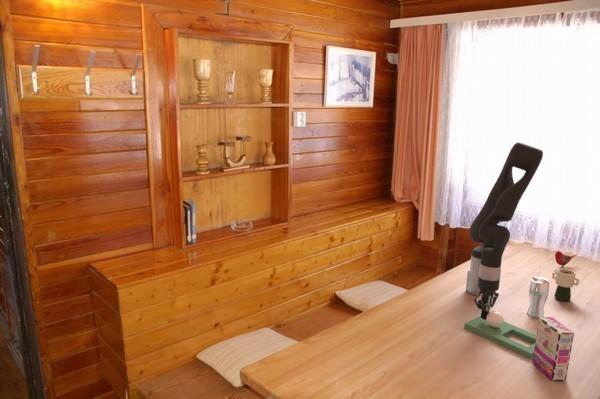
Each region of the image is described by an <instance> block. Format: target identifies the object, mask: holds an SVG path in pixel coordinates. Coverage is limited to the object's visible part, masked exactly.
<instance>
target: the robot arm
mask: <svg viewBox="0 0 600 399" xmlns="http://www.w3.org/2000/svg"><path fill="white" fill-rule="evenodd" d="M543 151H544V150H542V149H540V148H539V147H535V146H531V145H530V144H526V143H523V142H516V143H515V144H513V146H512V147H511V149H510V150H509V153H508V154H507V157H506V159H505V162H504V164H503V166H502V168H501V171H500V173H499V176H498V178H497V180H496V181H495V183H494V184H493V186H492V188H491V190H490V192H489V194H488V195H487V198H486V200H485V202H484V204H483V206H482V207H481V209H480V211H479V213H478V214H477V215H476V217H475V218H474V220H473V222H472V223H471V225H470V228H469V237H470V240H471V241H473V242H475V243H480V244H479V245H478V246H475V247H473V248H472V250H471V254H470V255H471V256H470V266H469V270H468V271H467V276H466V283H465V284H466V287H465V292H466V291H467V292H468V293H469V295H470V294H471V295H472V296H476V297H477V298H474V299H473V300H474V303H475V305H476V307H477V309H478V310H480V311H481V313H480V316H481V318H482V319H484V320H486V317H487V314H488V313H489V312H490V310H491V308H494V305H495V304H496V301H497V300H498V298H499V296H500V293H499V292H497V291H498V290H499V288H500V283H501V276H502V274H501V273H502V270H501V269H502V268H501V267H502V262H503V261H502V257H503V254H504V253H505V249H506V247H507V245H508V242H509V241H510V238H511V233H510V229H509V228H507V227H506V226H503V225H500V223H502V222H505V223H506V222H511V220H512V219H513V217H514V215H515V212H516V210H517V207H518V205H519V203H520V200H521V199H522V196H523V195H524V194H525V192H526V190H527V188H528V186H529V185H530V183H531V181H533V180H532V179H533V178H534V175H535V174H536V172H537V170H538V168H539V166H540V164H541V162H542V160H543V156H544V152H543ZM513 168H516V169H519V170H522V171H524V172H525V173H524V174H523V175H522V177H520V178H519V180H518V181H515V182H514V177H513Z"/></svg>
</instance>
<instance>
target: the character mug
mask: <svg viewBox="0 0 600 399" xmlns="http://www.w3.org/2000/svg"><path fill="white" fill-rule="evenodd" d="M576 275H577V273H576V271H574V270H573V269H569V268H557V269H556V271H552V275H551V278H552V279H553V280H555V284H556V285H557V286H556V289H555V293H554V298H556V299H557V300H560V301H570V300H571V296H572V289H571V288H572V287H574V286H576V287H577V286H579V285H580V278H578V277H576Z"/></svg>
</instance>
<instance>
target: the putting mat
mask: <svg viewBox="0 0 600 399" xmlns="http://www.w3.org/2000/svg"><path fill="white" fill-rule="evenodd" d="M463 329H466V330H467V331H469V332H472V333H474V334H476V335H478V336H480V337H483V338H484V339H487V340H489V341H491V342H493V343H496V344H497V345H499V346H502V347H504V348H506V349H509V350H511V351H513V352H515V353H517V354H519V355H522V356H524V357H526V358H528V359H530V360H533V357H534V350H535V343H536V336H537V334H534V333H532V332H530V331H528V330H525V329H523V328H521V327H518V326H515V324H511V323H508V322H507V321H503V324H502V325H501V326H500V327H497V328H495V327H491V326H490V325H489V324H488V323H487V320H484V319H482V318H481V315H480V316H478V317H475V318H473V319H471V320H469V321H467V322H465V323H464V327H463ZM511 335H512V336H515V337H517V338H519V339H522V340H524V341H527V342H529V343H531V344H530V345H529V346H526V345H525V344H522V343H520V342H518V341H516V340H514V339H511V338H509V336H511Z"/></svg>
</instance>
